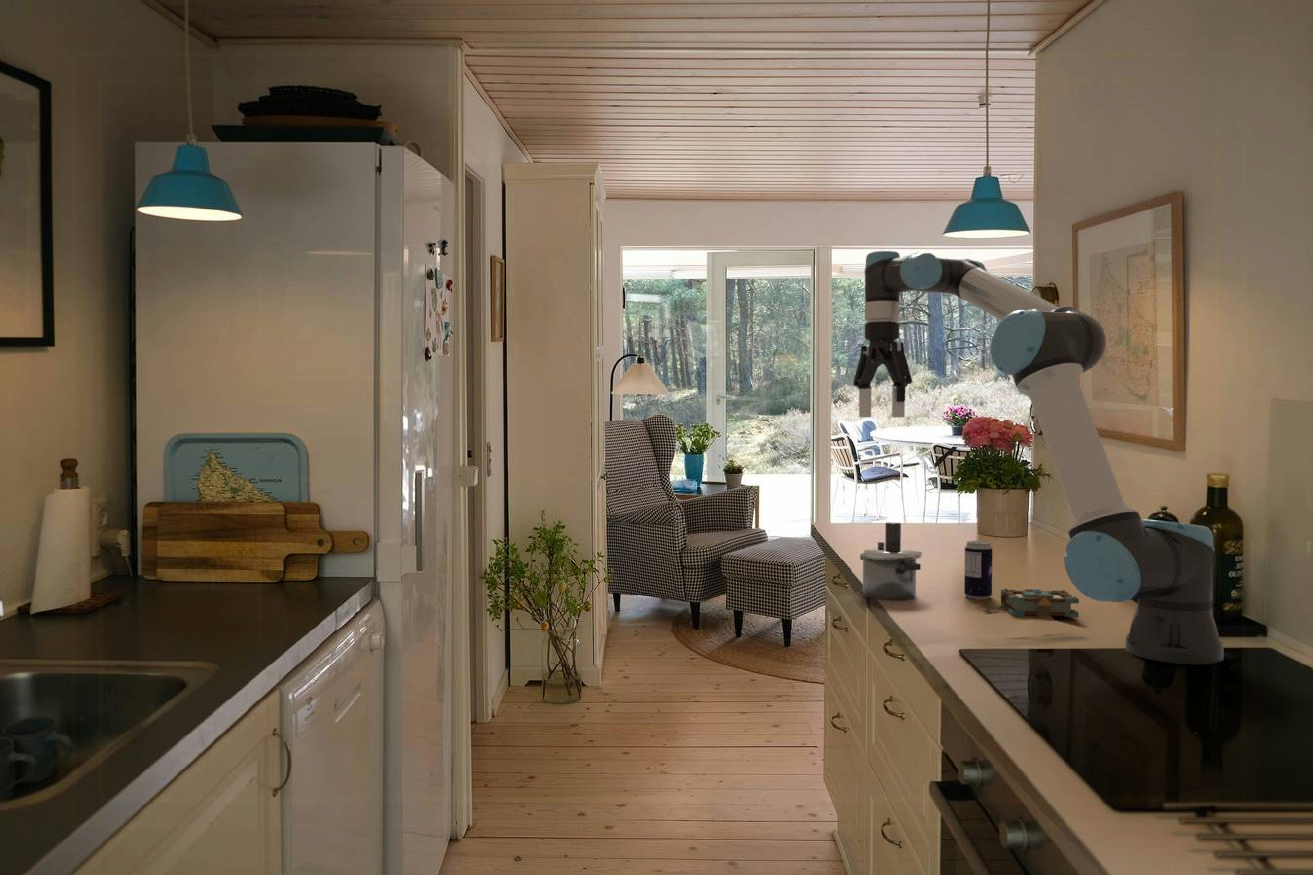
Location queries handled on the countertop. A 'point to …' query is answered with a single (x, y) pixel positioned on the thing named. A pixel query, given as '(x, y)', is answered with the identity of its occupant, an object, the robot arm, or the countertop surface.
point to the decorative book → (1037, 603)
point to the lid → (892, 546)
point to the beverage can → (978, 570)
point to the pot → (889, 578)
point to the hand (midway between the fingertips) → (881, 417)
